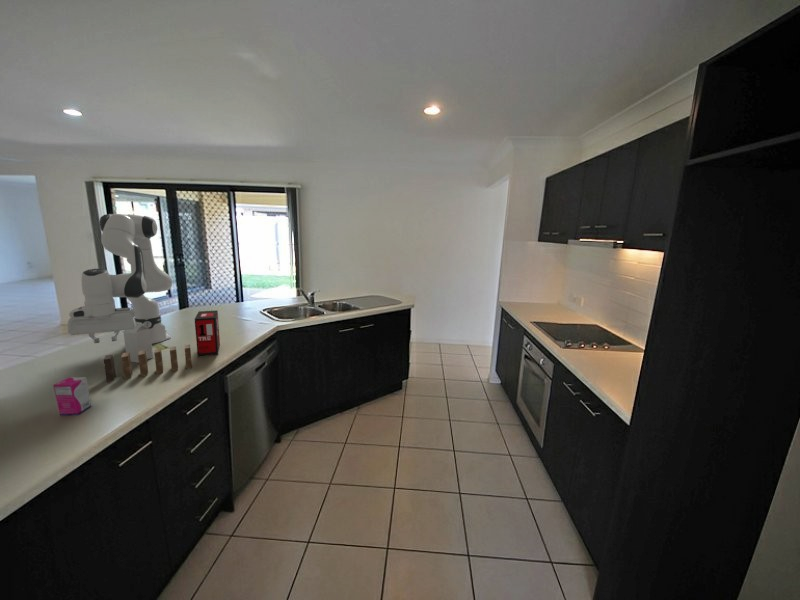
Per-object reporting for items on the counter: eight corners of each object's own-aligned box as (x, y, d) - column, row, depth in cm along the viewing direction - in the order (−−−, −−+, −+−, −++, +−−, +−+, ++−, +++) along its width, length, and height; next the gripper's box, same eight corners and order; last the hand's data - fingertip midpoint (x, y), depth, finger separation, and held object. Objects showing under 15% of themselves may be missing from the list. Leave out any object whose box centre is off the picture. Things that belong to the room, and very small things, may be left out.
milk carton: (139, 363, 150) (134, 324, 146) (127, 361, 151) (121, 323, 147) (153, 357, 156) (149, 321, 153) (141, 356, 158) (137, 319, 154)
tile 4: (156, 373, 140) (154, 352, 138) (157, 369, 144) (155, 349, 142) (162, 372, 141) (160, 351, 139) (163, 368, 145) (161, 348, 143)
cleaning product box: (201, 346, 174) (198, 311, 170) (219, 344, 178) (217, 310, 174) (197, 356, 160) (194, 319, 156) (217, 354, 164) (215, 317, 160)
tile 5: (171, 371, 143) (169, 350, 141) (172, 367, 147) (169, 347, 145) (177, 370, 144) (175, 349, 142) (177, 366, 148) (175, 346, 146)
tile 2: (124, 379, 134) (121, 357, 132) (125, 374, 138) (122, 353, 136) (130, 378, 135) (128, 356, 133) (132, 373, 139) (129, 352, 137)
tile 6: (186, 368, 146) (184, 348, 144) (186, 365, 150) (184, 345, 148) (192, 367, 147) (190, 347, 145) (191, 364, 151) (189, 344, 149)
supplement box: (74, 406, 112) (69, 376, 110) (92, 406, 113) (87, 376, 110) (58, 415, 106) (52, 384, 104) (77, 415, 107) (71, 384, 105)
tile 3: (140, 376, 137) (138, 354, 135) (142, 372, 141) (139, 351, 139) (147, 375, 138) (144, 353, 136) (148, 371, 142) (145, 350, 140)
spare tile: (106, 382, 130) (103, 359, 128) (109, 377, 134) (105, 355, 132) (113, 380, 132) (110, 358, 130) (116, 376, 136) (112, 354, 134)
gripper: (135, 305, 135) (139, 335, 138) (67, 310, 124) (73, 343, 127) (133, 308, 130) (137, 340, 133) (63, 313, 119) (69, 348, 122)
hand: (105, 341), depth 130 cm, fingers open, 4 cm apart
